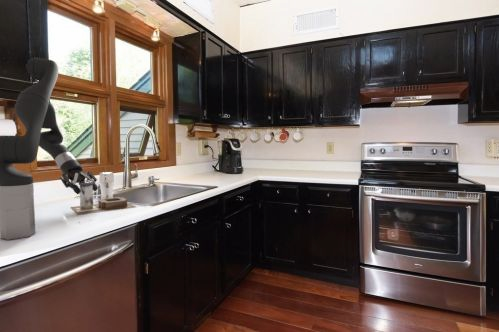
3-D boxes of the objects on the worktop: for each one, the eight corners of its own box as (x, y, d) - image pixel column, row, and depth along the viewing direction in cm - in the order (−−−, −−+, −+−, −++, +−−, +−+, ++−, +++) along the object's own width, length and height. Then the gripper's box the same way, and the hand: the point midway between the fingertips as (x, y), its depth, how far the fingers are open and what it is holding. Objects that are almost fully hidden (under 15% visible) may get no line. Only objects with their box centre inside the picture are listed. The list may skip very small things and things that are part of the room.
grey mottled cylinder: (95, 208, 127) (94, 182, 126) (80, 210, 123) (79, 183, 122) (92, 206, 131) (91, 180, 130) (78, 208, 128) (77, 181, 127)
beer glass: (100, 199, 156) (100, 172, 154) (114, 198, 158) (114, 172, 157) (99, 202, 149) (98, 173, 148) (113, 201, 152) (113, 173, 150)
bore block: (136, 210, 132) (136, 200, 132) (77, 218, 117) (76, 207, 117) (124, 203, 146) (124, 195, 146) (70, 210, 131) (69, 200, 130)
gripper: (57, 159, 121) (77, 188, 118) (86, 158, 134) (105, 183, 131) (48, 171, 123) (68, 199, 120) (78, 168, 137) (97, 194, 134)
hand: (88, 191), depth 126 cm, fingers open, 8 cm apart
